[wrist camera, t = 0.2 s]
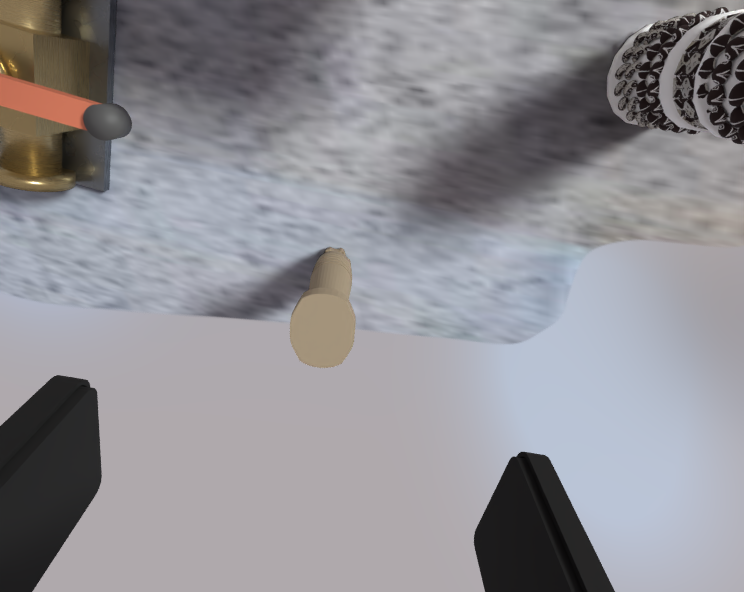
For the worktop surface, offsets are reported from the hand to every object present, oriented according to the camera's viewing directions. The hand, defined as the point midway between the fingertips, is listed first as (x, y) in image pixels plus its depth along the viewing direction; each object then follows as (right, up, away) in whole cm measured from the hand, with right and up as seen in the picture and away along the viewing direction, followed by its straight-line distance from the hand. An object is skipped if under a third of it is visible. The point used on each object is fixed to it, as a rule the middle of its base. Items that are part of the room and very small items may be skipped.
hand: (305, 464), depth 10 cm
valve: (-26, +23, +29) cm, 45 cm away
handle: (-2, +8, +37) cm, 38 cm away
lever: (-21, +17, +19) cm, 34 cm away
